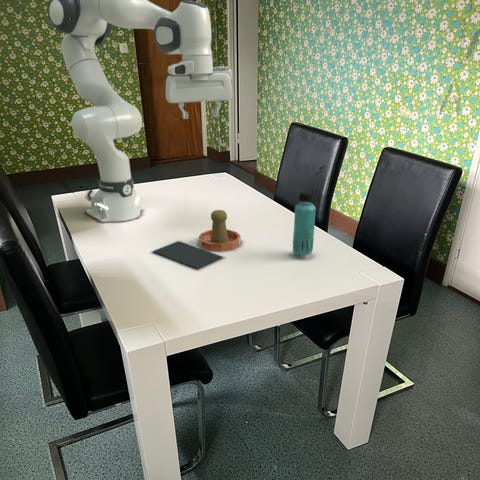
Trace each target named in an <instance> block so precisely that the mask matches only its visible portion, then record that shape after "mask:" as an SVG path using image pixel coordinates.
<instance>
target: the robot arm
mask: <svg viewBox="0 0 480 480" xmlns="http://www.w3.org/2000/svg"><path fill="white" fill-rule="evenodd" d="M47 11H48V17H49V20H50V23H51V25H52V27H53V28H55V29H56V30H57V31H59V32H61V33H63V34H65V36H64V37H63V39H61V42H60V50H61V54H62V57H63V61H64V64H65V66H66V69H67V71H68V74H69V77H70V78H71V81H72V83H73V85H74V88H75V91H76V92H77V94H78V96H79V97H80V98H81V99H82V100H84V101H86V102H88V103H90V104H92V105H93V106H89V107H84V108H82V109H79V110H77V111H75V112H73V115H72V116H71V117H72V118H71V128H72V131H73V133H74V135H75V136H76V138H77V139H78V140H80V141H81V142H82V143H85V144H86V145H87V146H88V147H89V148H90V150H91V151H92V153H93V154H94V156H95V159H96V162H97V167H98V171H99V176H100V177H99V178H100V179H97V180H96V181H97V184H98V185H99V188H98V189H97V191H96V192H95V193H94V194H93V195H92V196H91V193H92V192H93V189H92V188H91V187H89V186H86V185H80V186H79V187H78V189H82V188H84V189H87V190H88V193H87V196H88V198H89V199H90V203H91V207H89V208H87V209H86V211H85V212H86V214H87V215H89V216H90V217H92V218H94V219H95V220H97V221H99V222H100V223H109V222H115V223H117V222H126V221H132V220H135V219H137V218H139V217H140V216H141V212H142V207H141V206H140V204H139V201H140V197H139V196H138V195H137V192H136V190H135V189H134V179H133V177H132V173H131V163H130V158H129V156H128V155H127V154H126V153H125V152H124V151H123V150H120V149H118V148H116V146H115V143H114V140H116V139H124V138H129V137H131V136H133V135H136V134H138V133H139V132H140V131H141V129H142V127H143V118H142V114H141V112H140V111H139V109H138V108H137V106H135V105H133V104H131V103H129V102H128V101H127V100H125V99H124V98H122V96H120V95H119V93H117V92H116V90H115V89H114V88H113V87H112V86H111V84H110V82H109V80H108V78H107V77H106V74H105V71H104V69H103V67H102V66H101V63H100V60H99V59H98V56H97V54H96V52H95V46H100V45H102V44H103V42H104V41H105V40H106V39H107V38H108V37H109V36H110V34H111V33H112V31H113V27H117V28H120V29H121V28H122V29H128V30H133V29H134V30H135V29H136V30H140V29H141V30H142V29H143V30H144V29H145V30H153V38H154V39H153V40H154V43H155V45H156V47H157V49H158V50H159V51H160V52H161V53H163V54H166V55H181V58H182V59H181V61H177V62H176V63H174V64H171V65H169V66H168V67H167V73H168V76H167V77H166V80H165V100H166V101H167V102H168V103H169V104H177V106H178V109H180V111H181V113H182V119H183V120H187V119H189V112H188V111H186V110H185V109H184V107H185V103H203V102H215V105H216V106H215V109H214V110H212V111H211V113H212V117H213V118H219V111H220V109H221V107H222V101H231V100H232V99H233V96H234V95H233V94H234V93H233V86H232V85H233V84H232V81H233V71H232V70H231V68H229V67H228V66H226V65H222V66H218V65H217V66H216V65H215V66H214V62H213V60H214V59H213V51H212V46H211V45H212V44H211V43H212V22H211V15H210V11H209V7H208V6H207V5H206V4H205V3H204V2H201V1H196V0H195V1H194V0H182V1H180V3H179V4H178V6H177V8H176V9H175V10H173V11H170V10H168V9H166V8H163V7H161V6H159V5H157V4H155V3H153V2H151V1H150V0H50V1H49V4H48V10H47Z"/></svg>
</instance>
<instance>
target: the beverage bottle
mask: <svg viewBox="0 0 480 480" xmlns="http://www.w3.org/2000/svg"><path fill="white" fill-rule="evenodd" d="M313 200H314V193H313V191H309V190H308V191H307V190H304V191H300V192H299V196H298V201H300V202H298V203H297V204H296V205H295V206H294V221H293V234H292V252H293V254H295V255H299V256H308V255H311V254H312V253H313V251H314V241H315V237H314V236H315V226H316V209H317V208H316V206H315V205H314V203H312V202H313Z"/></svg>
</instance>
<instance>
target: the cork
mask: <svg viewBox="0 0 480 480" xmlns="http://www.w3.org/2000/svg"><path fill="white" fill-rule="evenodd" d="M210 219H211V221H212V224H211V225H212V226H211V230H212V235H211V240H210V243H219V244H221V243H228V242H229V240H228V235H227V230H228V229H227V222H226V221H227V219H228V214H227V212H226V211H225V210H222V209H215V210H213V211H211V214H210Z"/></svg>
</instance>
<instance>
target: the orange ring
mask: <svg viewBox="0 0 480 480" xmlns="http://www.w3.org/2000/svg"><path fill="white" fill-rule="evenodd" d="M211 235H212V229H208V230H205V231H202V232H201V233H200V234H199V235H198V238H197V239H198V245H199V246H200V249H203V250H206V251H209V252H226V251H232V250H234V249H236V248H238V247H240V245H241V241H242V239H241V238H242V237H241V234H240V233H239V232H237V231H235V230H231V229H227V235H228V243H221V244H219V243H211Z"/></svg>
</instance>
